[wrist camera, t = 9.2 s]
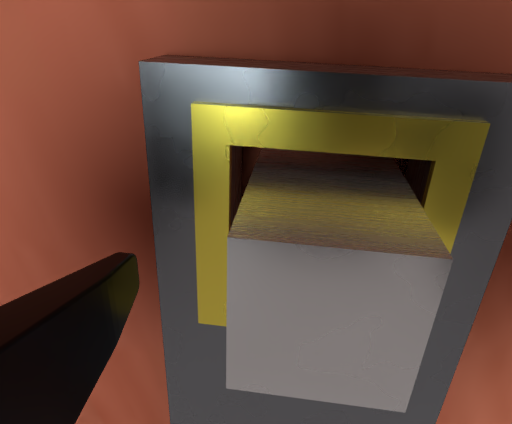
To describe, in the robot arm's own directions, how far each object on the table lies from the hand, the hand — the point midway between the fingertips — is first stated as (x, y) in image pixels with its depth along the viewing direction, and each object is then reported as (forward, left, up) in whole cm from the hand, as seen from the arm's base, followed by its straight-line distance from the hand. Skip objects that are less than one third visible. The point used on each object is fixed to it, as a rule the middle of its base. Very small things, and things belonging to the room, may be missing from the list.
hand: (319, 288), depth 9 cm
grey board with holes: (0, -6, -4) cm, 8 cm away
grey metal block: (0, 0, -5) cm, 5 cm away
